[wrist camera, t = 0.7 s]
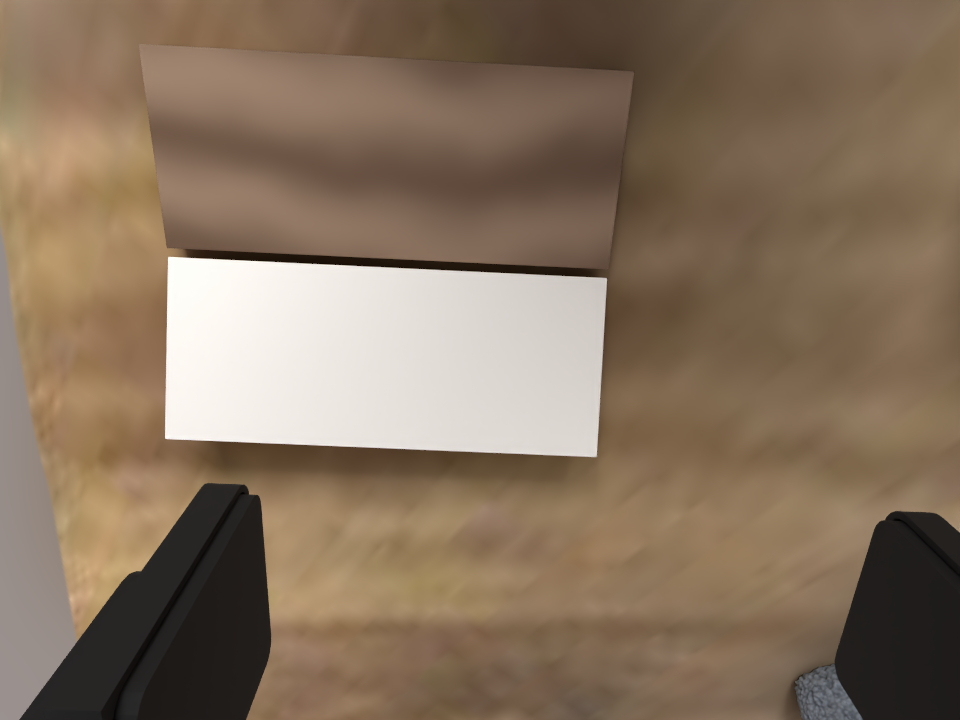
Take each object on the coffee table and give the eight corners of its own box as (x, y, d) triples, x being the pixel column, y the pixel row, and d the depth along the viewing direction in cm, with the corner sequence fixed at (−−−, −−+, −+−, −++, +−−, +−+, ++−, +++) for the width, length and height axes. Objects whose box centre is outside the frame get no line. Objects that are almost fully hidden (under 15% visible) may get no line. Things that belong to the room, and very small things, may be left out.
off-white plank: (183, 260, 39) (168, 257, 37) (599, 280, 39) (607, 278, 37) (180, 432, 39) (165, 438, 37) (590, 450, 40) (596, 457, 38)
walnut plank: (156, 45, 34) (138, 44, 32) (626, 71, 35) (634, 71, 33) (181, 239, 38) (167, 247, 36) (602, 259, 39) (608, 269, 37)
